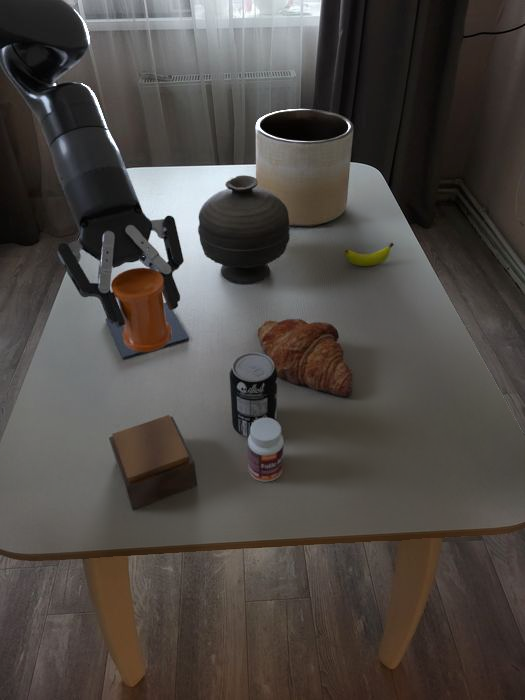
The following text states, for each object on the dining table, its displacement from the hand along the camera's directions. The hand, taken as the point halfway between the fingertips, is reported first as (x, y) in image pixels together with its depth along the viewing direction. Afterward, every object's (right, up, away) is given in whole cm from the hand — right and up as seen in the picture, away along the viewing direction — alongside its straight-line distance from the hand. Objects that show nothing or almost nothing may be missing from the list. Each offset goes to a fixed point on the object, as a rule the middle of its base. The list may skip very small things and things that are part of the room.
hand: (148, 316), depth 64 cm
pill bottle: (+14, -21, +14) cm, 28 cm away
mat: (-8, 0, +37) cm, 38 cm away
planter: (+23, +31, +73) cm, 82 cm away
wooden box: (-2, -21, +13) cm, 25 cm away
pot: (+10, +12, +52) cm, 54 cm away
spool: (-1, -2, +4) cm, 5 cm away
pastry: (+20, -6, +30) cm, 37 cm away
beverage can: (+12, -15, +20) cm, 28 cm away
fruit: (+35, +14, +53) cm, 65 cm away
